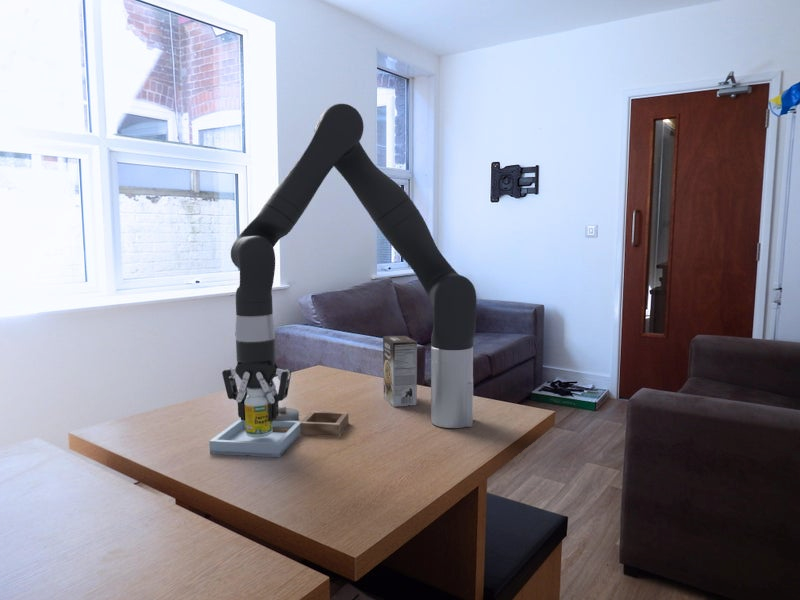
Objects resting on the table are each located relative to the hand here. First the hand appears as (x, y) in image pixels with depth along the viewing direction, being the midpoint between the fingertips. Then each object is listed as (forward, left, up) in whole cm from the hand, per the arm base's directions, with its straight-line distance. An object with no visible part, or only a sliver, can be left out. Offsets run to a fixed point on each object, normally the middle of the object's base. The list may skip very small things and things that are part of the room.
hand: (258, 419), depth 116 cm
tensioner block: (-6, -10, -5) cm, 12 cm away
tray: (0, 0, -5) cm, 5 cm away
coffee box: (-24, -33, -5) cm, 41 cm away
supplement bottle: (0, 0, -3) cm, 3 cm away
